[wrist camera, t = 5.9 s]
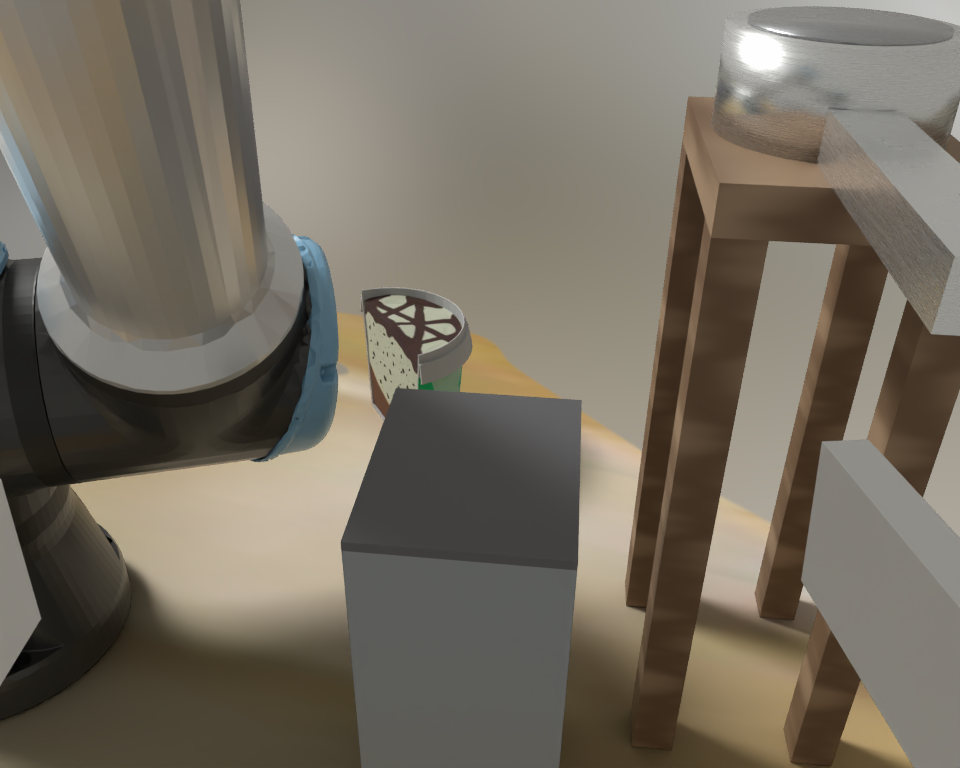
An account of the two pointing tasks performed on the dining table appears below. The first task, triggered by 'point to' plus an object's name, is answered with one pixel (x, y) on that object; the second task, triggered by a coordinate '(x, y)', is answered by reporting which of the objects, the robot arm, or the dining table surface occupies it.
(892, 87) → the silver saucepan
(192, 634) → the dining table surface
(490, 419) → the gray rectangular block
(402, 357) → the food container
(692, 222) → the tall stand
